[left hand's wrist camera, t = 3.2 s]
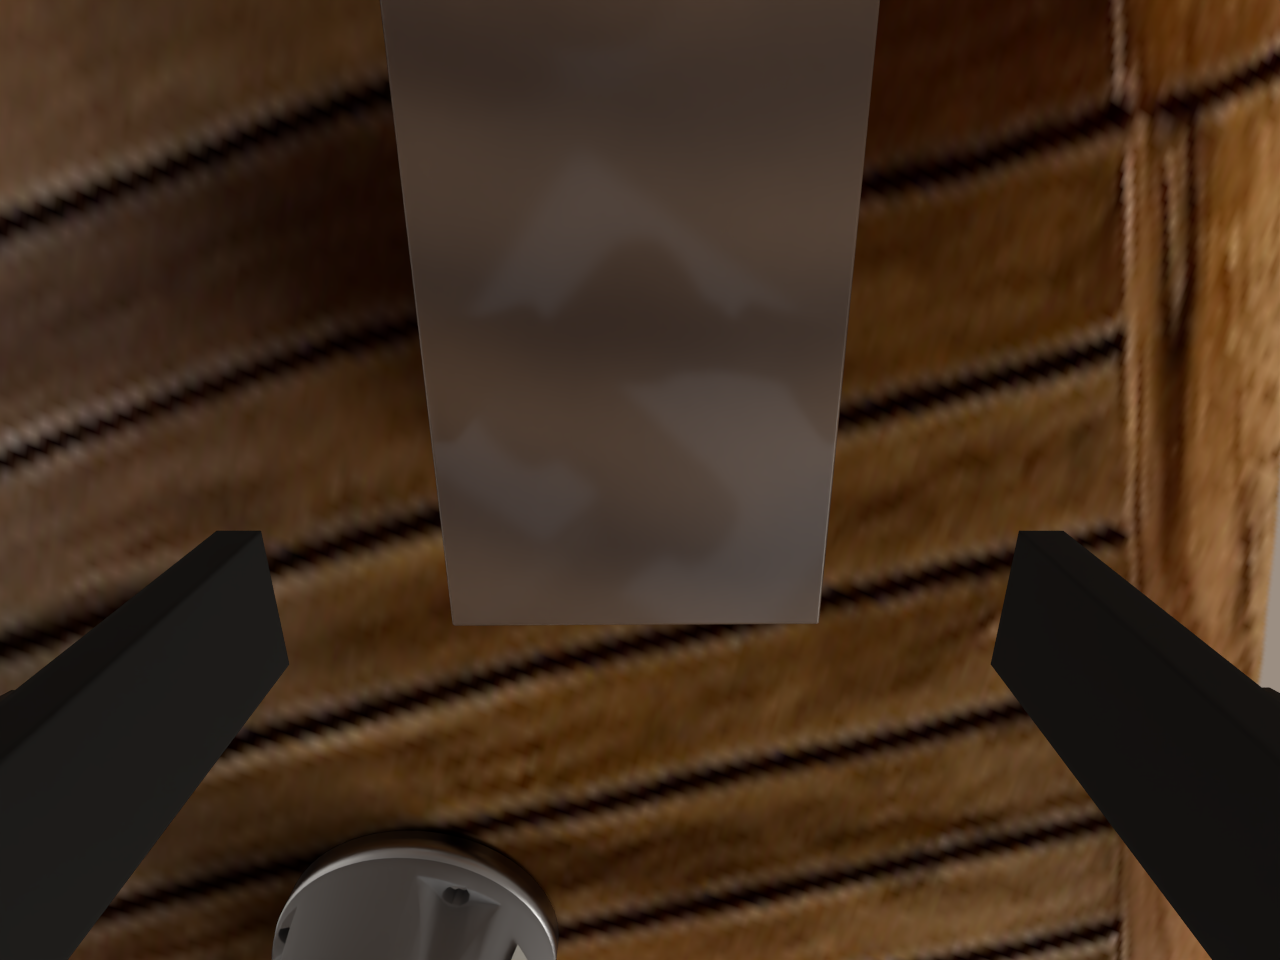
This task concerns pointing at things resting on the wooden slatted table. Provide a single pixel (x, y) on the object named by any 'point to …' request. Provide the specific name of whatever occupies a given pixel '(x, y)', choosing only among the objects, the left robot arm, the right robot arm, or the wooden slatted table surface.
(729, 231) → the cabinet
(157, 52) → the wooden slatted table surface
